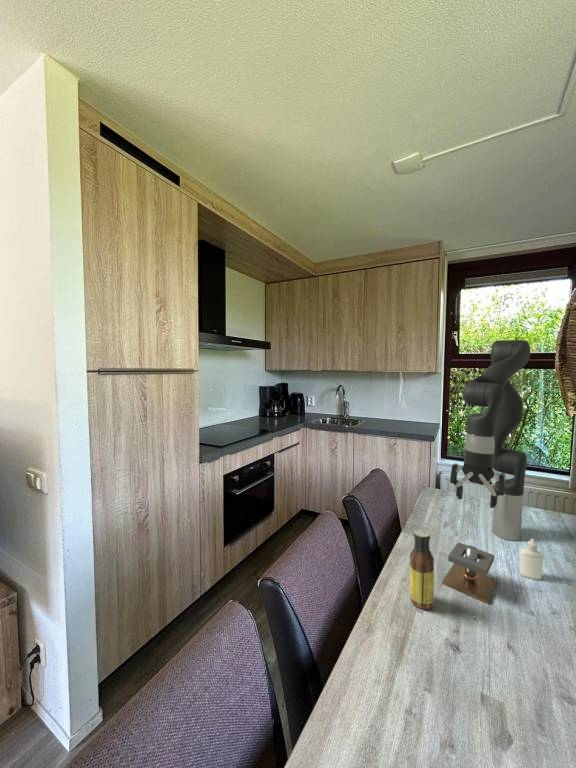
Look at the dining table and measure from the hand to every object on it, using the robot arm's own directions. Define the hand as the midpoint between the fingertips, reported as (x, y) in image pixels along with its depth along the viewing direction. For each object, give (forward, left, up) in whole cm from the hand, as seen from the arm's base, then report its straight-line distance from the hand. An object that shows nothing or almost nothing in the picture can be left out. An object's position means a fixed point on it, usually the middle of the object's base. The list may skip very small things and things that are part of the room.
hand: (475, 502), depth 98 cm
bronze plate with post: (+2, 0, -24) cm, 24 cm away
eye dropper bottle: (-15, +13, -25) cm, 32 cm away
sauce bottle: (+20, -8, -25) cm, 33 cm away
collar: (+2, 0, -17) cm, 17 cm away
